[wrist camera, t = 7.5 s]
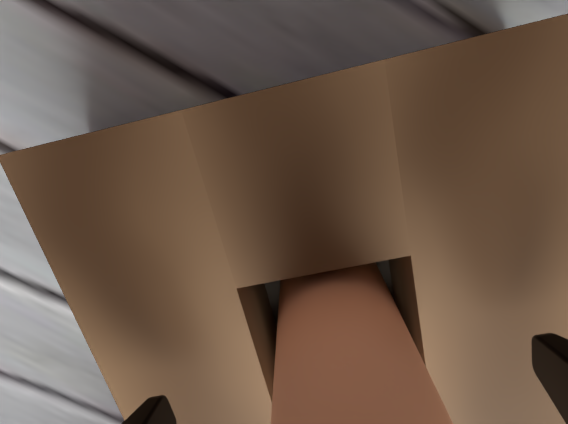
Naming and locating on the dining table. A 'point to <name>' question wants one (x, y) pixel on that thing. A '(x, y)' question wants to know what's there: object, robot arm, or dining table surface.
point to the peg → (348, 355)
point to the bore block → (323, 224)
